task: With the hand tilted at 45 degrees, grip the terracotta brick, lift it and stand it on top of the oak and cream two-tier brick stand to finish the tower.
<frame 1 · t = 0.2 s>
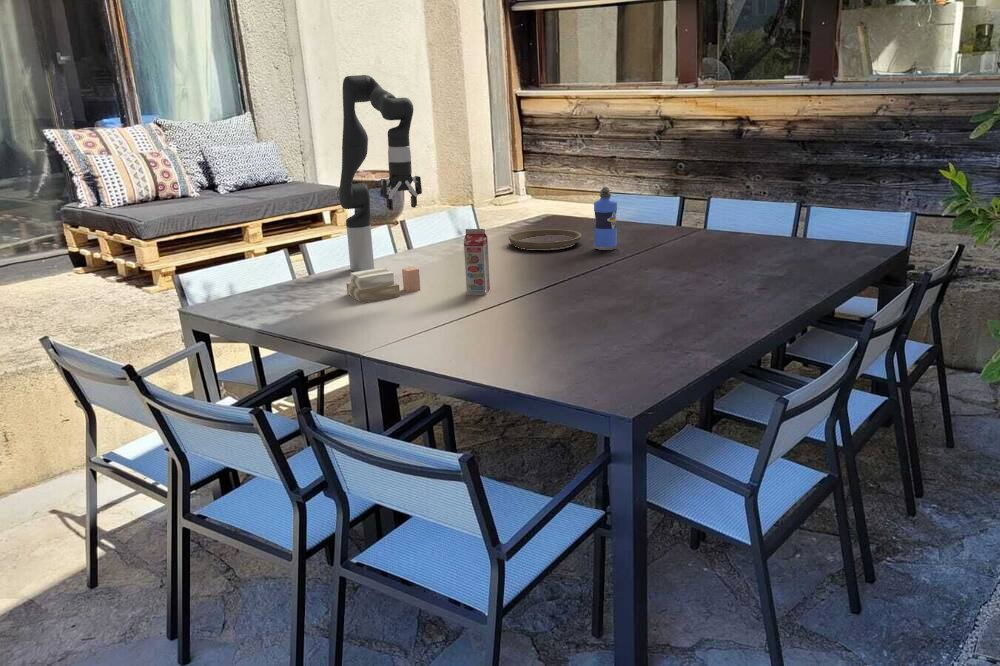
hand: (402, 208, 296), 29 cm above the table, tool pointing down, fingers open, 8 cm apart
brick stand: (373, 295, 302), on the table
water bottle: (605, 249, 360), on the table
juice carton: (478, 292, 300), on the table
plant saucer: (545, 245, 373), on the table
terracotta brick: (412, 289, 308), on the table
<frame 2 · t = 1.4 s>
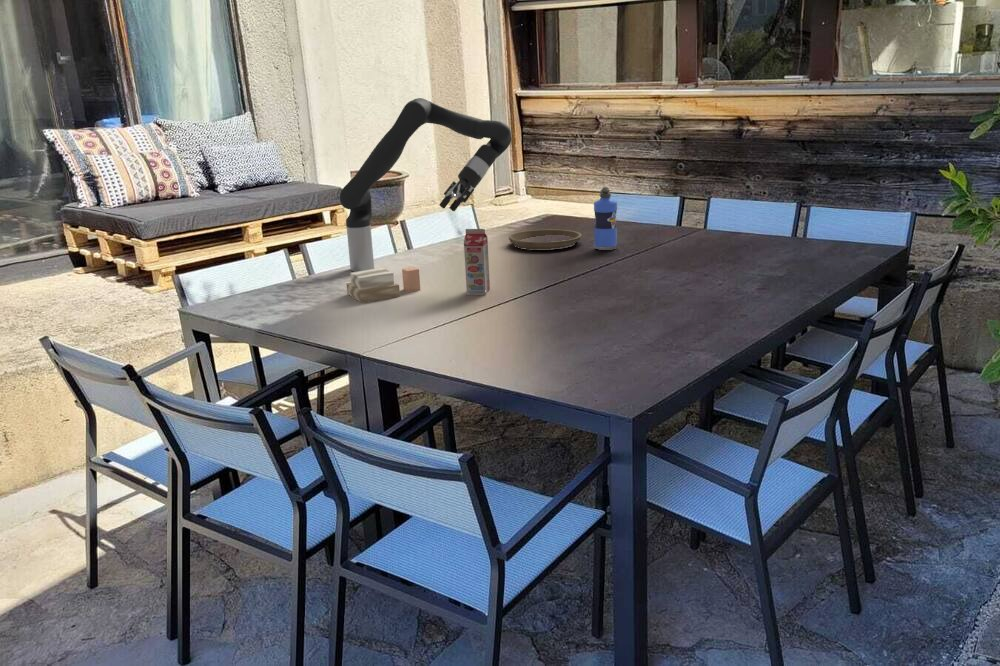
hand: (446, 208, 306), 27 cm above the table, tool tilted 45°, fingers open, 8 cm apart
nothing on the table moved.
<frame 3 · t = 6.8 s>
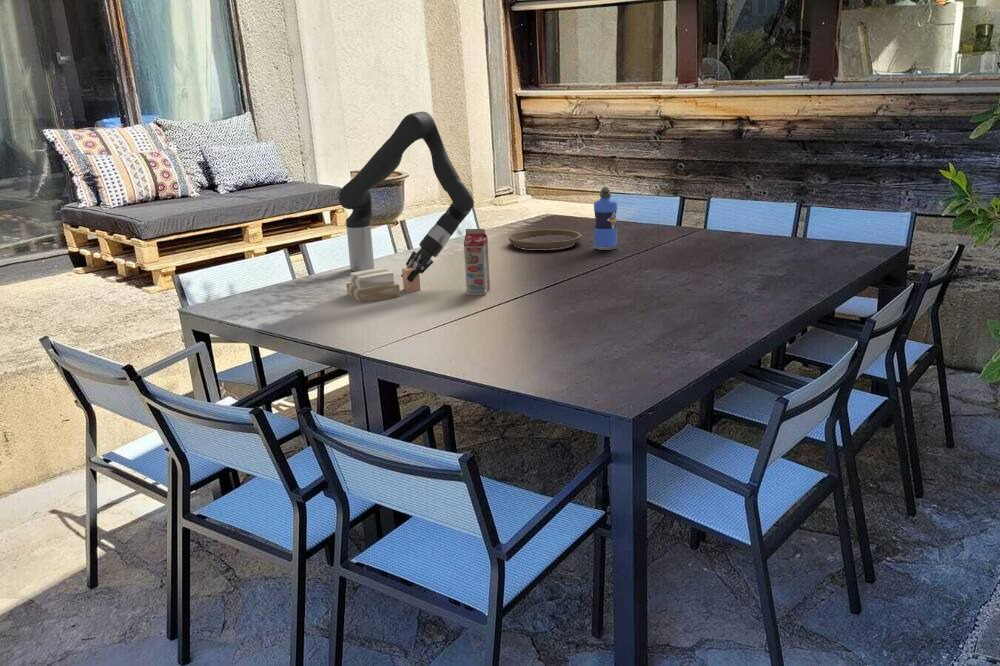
hand: (406, 279, 306), 4 cm above the table, tool tilted 45°, fingers closed on terracotta brick, 4 cm apart
terracotta brick: (412, 289, 308), on the table, touching gripper
everything else where it was.
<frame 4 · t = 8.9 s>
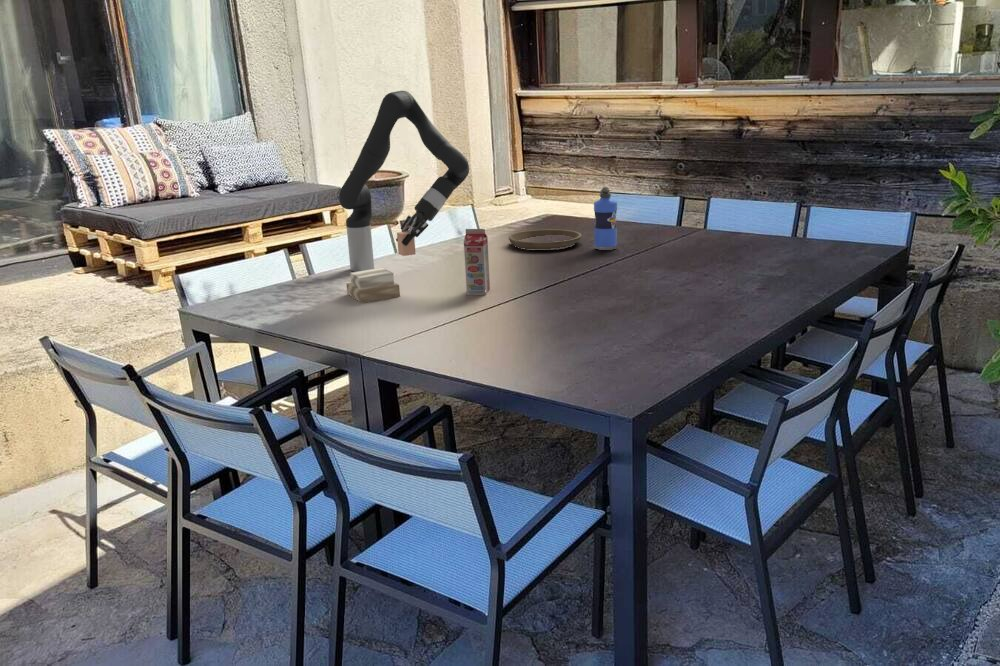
hand: (401, 242, 302), 17 cm above the table, tool tilted 45°, fingers closed on terracotta brick, 4 cm apart
terracotta brick: (407, 254, 304), point 13 cm above the table, touching gripper
everything else where it was.
when the fingers open (14 cm above the table, at t = 11.4 s): terracotta brick drops 2 cm, resting on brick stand.
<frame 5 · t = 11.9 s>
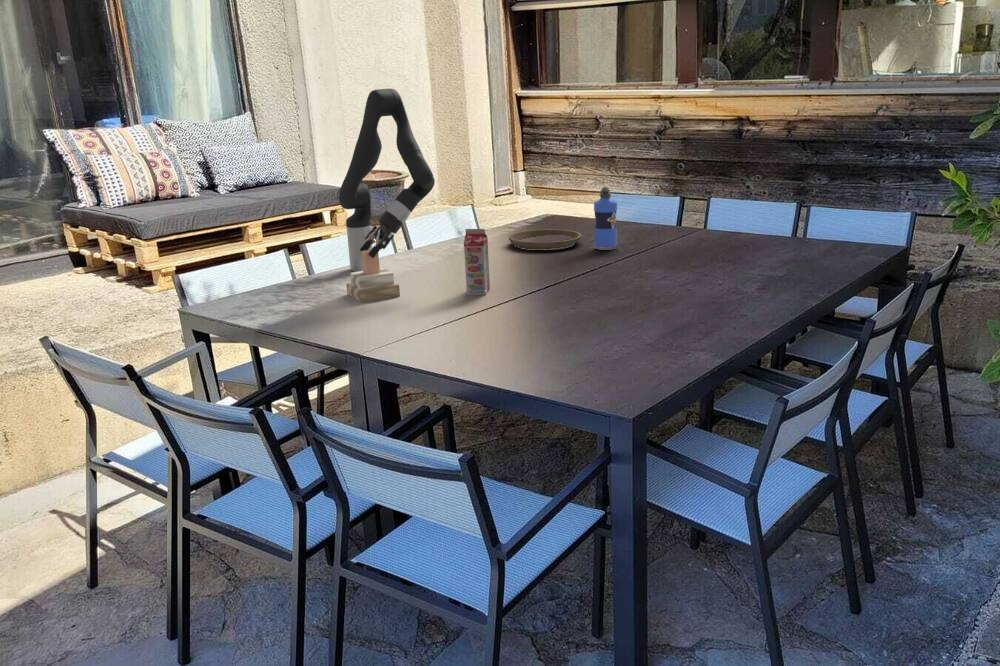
hand: (366, 254, 298), 15 cm above the table, tool tilted 45°, fingers open, 8 cm apart
terracotta brick: (371, 272, 300), point 8 cm above the table, touching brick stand
everything else where it was.
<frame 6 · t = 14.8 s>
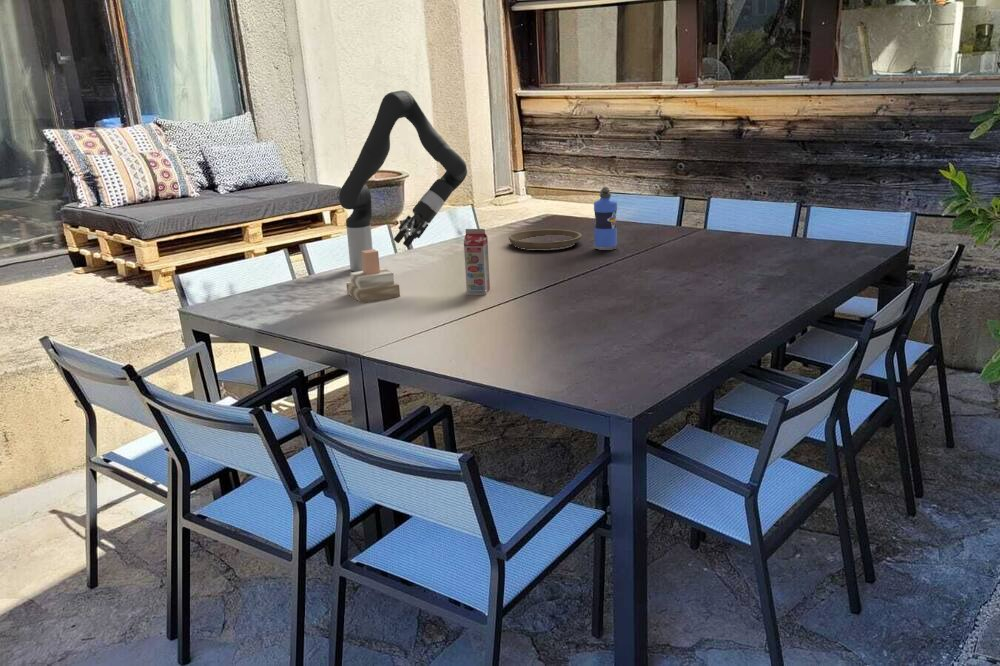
hand: (400, 243, 303), 17 cm above the table, tool tilted 45°, fingers open, 8 cm apart
nothing on the table moved.
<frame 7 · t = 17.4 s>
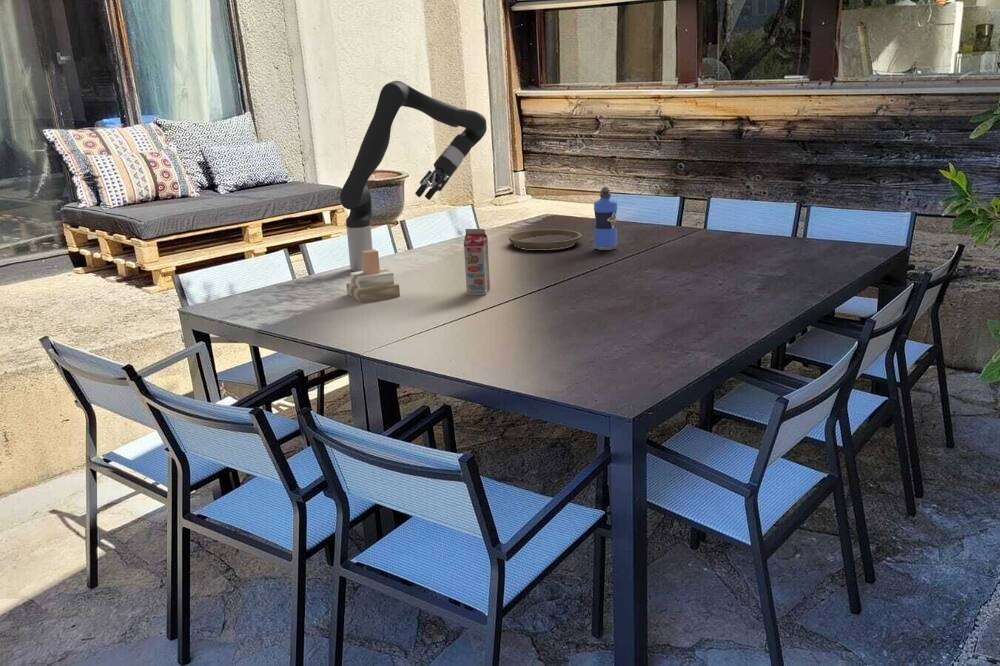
hand: (421, 196, 310), 31 cm above the table, tool tilted 45°, fingers open, 8 cm apart
nothing on the table moved.
at the end: terracotta brick inside the target area on the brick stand (0.1 cm from its centre), point 8.0 cm above the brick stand's base; terracotta brick tilted 0°; the gripper is holding nothing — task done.
